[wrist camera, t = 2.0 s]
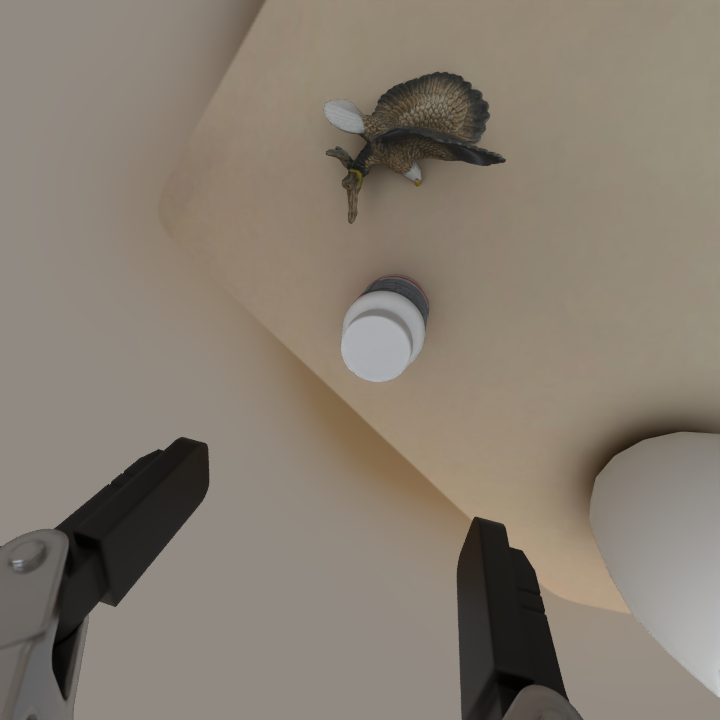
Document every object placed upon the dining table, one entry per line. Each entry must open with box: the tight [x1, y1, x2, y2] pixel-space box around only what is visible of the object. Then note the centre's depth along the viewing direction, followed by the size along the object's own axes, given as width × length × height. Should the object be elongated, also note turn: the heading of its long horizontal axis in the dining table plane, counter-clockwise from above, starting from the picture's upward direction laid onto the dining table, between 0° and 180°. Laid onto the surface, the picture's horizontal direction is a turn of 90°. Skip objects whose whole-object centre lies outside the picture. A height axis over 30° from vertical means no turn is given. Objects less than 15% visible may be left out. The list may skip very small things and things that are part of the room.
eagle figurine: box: [323, 72, 506, 224], centre depth 21 cm, size 8×7×9 cm
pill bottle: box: [341, 275, 429, 382], centre depth 24 cm, size 5×5×9 cm
